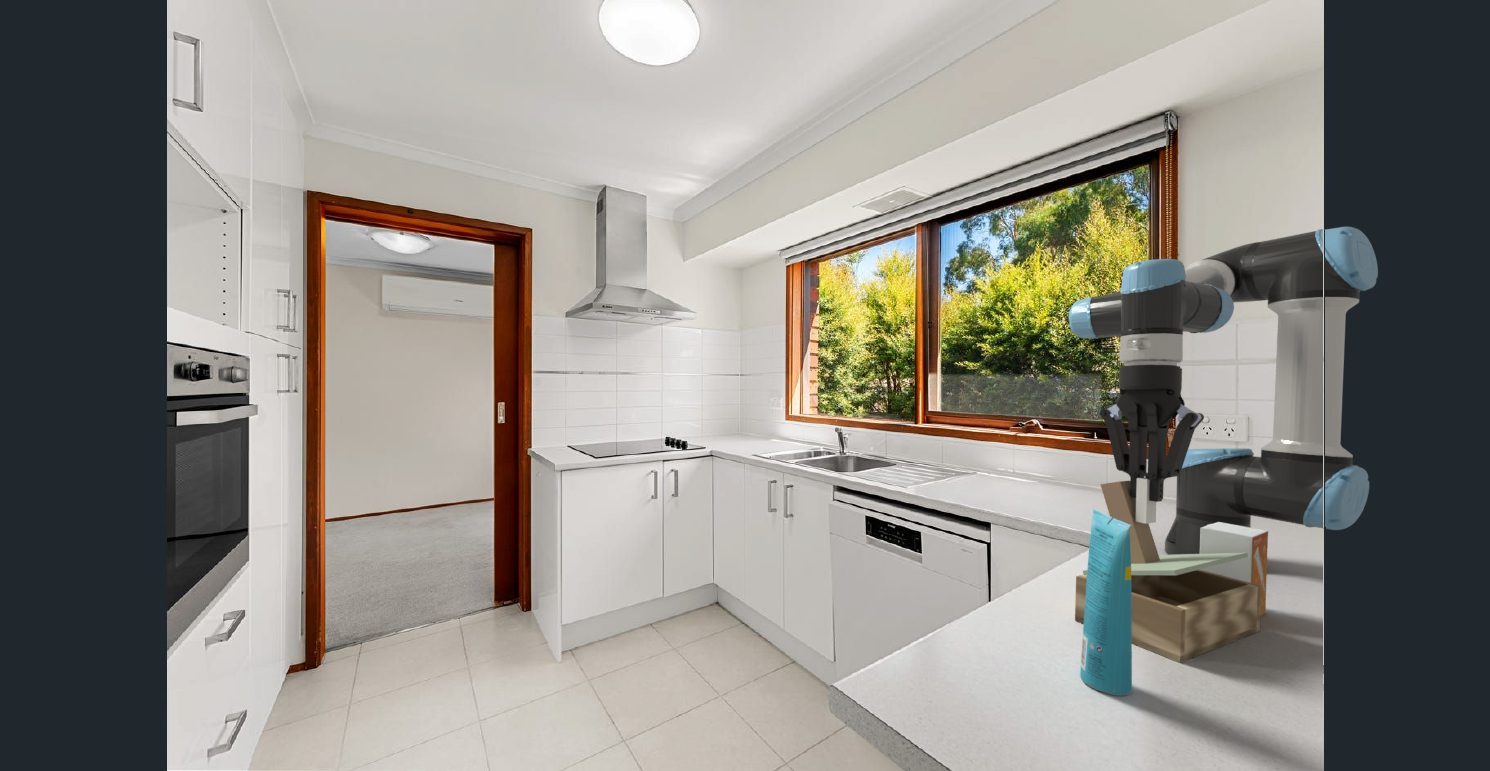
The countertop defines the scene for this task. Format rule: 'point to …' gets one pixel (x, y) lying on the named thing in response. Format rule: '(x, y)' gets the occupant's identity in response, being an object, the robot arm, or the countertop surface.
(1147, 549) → the lid
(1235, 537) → the small box
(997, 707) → the countertop surface
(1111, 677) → the tube
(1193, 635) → the crate
